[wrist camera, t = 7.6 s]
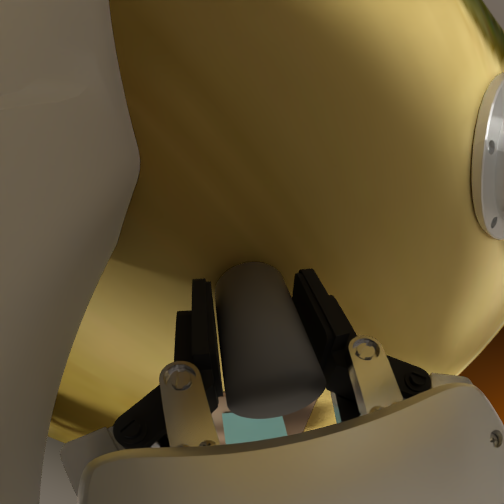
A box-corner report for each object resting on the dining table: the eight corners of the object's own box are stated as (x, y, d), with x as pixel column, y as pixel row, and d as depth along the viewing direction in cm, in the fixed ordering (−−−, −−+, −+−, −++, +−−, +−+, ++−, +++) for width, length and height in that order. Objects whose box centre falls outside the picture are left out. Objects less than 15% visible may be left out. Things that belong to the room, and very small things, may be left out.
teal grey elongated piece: (196, 266, 11) (198, 380, 7) (301, 257, 12) (355, 354, 7) (226, 434, 21) (234, 487, 16) (275, 428, 21) (288, 478, 17)
